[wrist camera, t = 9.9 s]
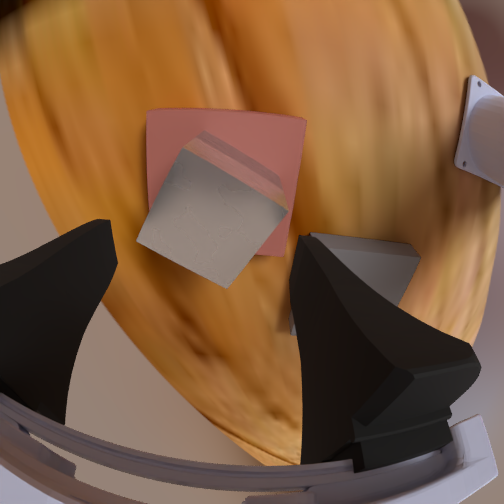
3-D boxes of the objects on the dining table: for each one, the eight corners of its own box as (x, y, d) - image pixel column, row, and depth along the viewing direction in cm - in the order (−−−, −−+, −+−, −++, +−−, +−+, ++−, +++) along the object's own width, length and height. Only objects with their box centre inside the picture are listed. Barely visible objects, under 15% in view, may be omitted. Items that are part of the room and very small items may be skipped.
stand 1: (301, 117, 15) (307, 120, 14) (281, 241, 20) (283, 256, 18) (157, 108, 15) (146, 110, 13) (160, 231, 20) (152, 245, 18)
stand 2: (410, 244, 20) (421, 257, 18) (374, 320, 25) (380, 335, 23) (310, 232, 20) (315, 246, 18) (288, 318, 25) (290, 335, 23)
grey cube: (279, 175, 15) (288, 211, 11) (233, 238, 18) (227, 288, 14) (204, 130, 14) (182, 147, 10) (165, 199, 16) (136, 241, 12)
